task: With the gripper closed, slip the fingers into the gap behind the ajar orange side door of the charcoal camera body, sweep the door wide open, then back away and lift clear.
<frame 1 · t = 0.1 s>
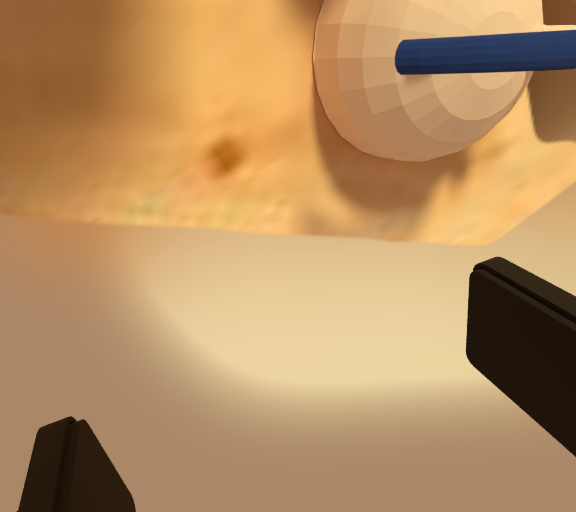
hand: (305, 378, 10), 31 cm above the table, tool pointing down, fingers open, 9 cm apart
kettle: (407, 53, 40), on the table
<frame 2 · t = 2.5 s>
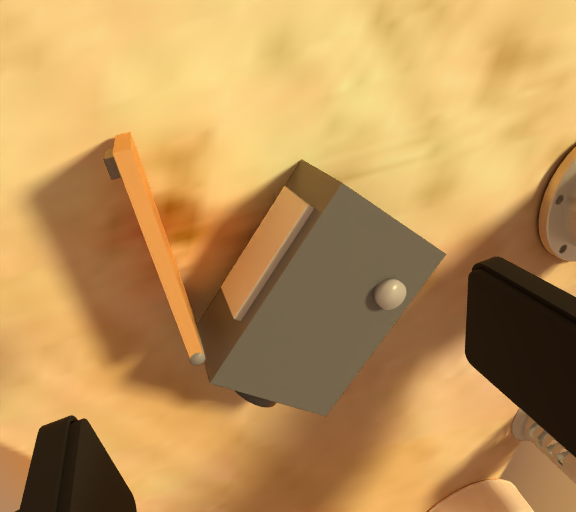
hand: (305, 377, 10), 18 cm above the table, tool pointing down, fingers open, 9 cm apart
camera body: (298, 273, 31), on the table
french press: (547, 404, 52), on the table
side door: (158, 255, 23), point 3 cm above the table, hinge at 45.0°
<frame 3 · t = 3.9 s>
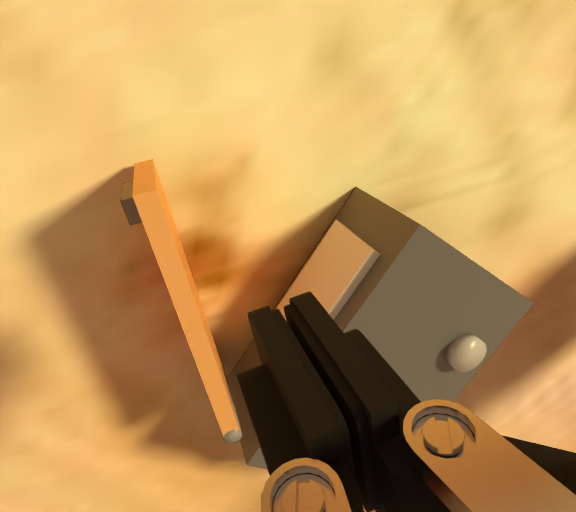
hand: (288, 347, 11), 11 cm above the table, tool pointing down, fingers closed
camera body: (345, 317, 26), on the table
side door: (185, 310, 19), point 3 cm above the table, hinge at 45.0°
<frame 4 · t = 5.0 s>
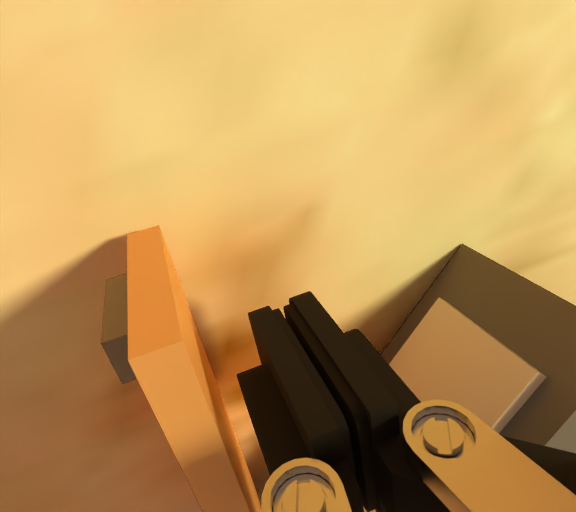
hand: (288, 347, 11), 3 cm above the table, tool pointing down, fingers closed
camera body: (427, 415, 19), on the table
side door: (218, 475, 11), point 3 cm above the table, hinge at 45.3°, touching gripper
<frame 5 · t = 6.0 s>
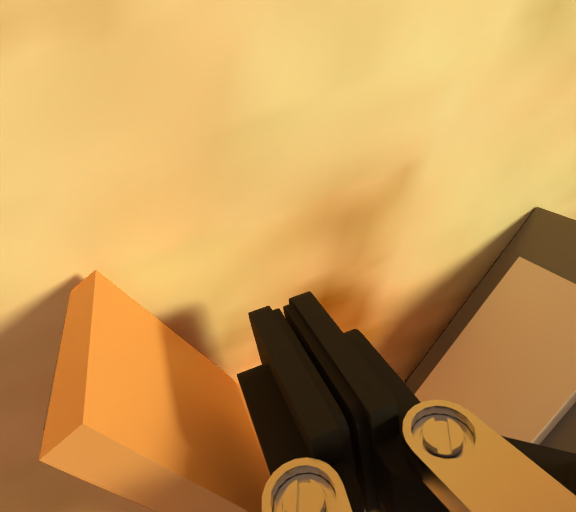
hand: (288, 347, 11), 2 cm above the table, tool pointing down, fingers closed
camera body: (488, 379, 19), on the table
side door: (257, 471, 11), point 3 cm above the table, hinge at 69.7°, touching gripper
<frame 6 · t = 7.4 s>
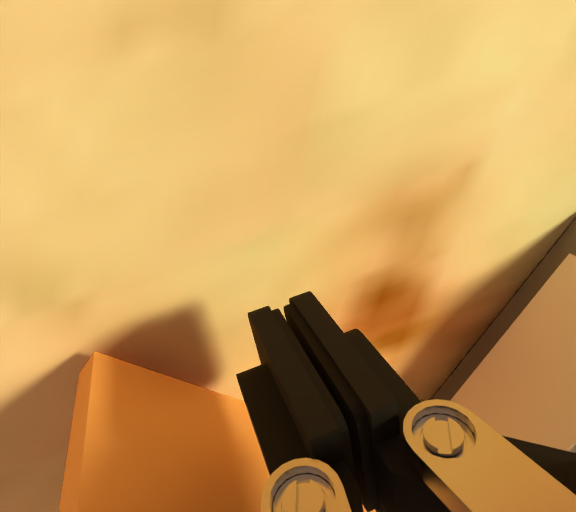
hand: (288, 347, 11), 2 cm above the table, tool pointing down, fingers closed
camera body: (528, 375, 20), on the table
side door: (288, 490, 12), point 3 cm above the table, hinge at 86.6°
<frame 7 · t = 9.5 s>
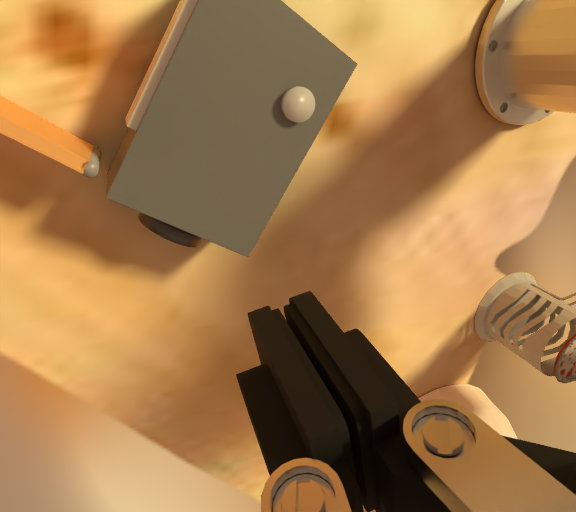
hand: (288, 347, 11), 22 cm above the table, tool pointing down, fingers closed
camera body: (215, 116, 29), on the table
kettle: (428, 440, 57), on the table
french press: (509, 301, 50), on the table
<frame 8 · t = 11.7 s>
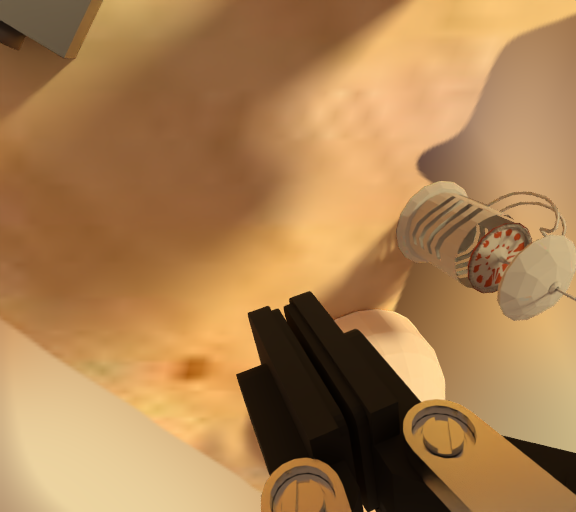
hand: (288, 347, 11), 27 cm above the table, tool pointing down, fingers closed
kettle: (352, 375, 52), on the table
french press: (438, 216, 46), on the table
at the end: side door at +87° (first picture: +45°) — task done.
